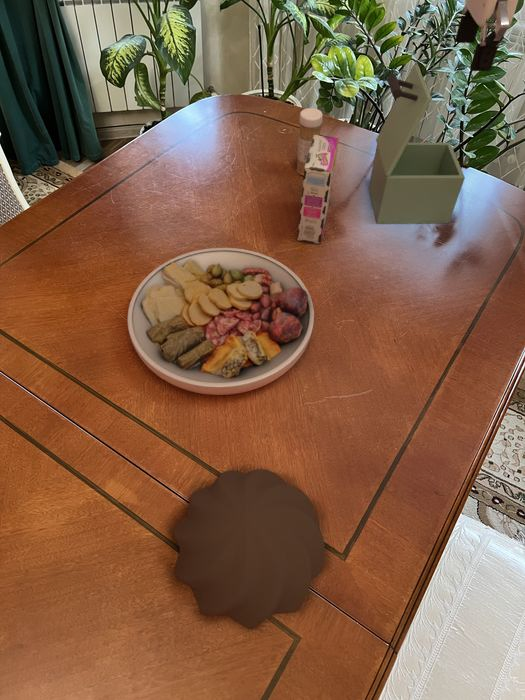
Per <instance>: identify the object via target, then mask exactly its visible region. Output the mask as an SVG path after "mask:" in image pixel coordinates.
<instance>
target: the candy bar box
mask: <svg viewBox="0 0 525 700" xmlns="http://www.w3.org/2000/svg"><path fill="white" fill-rule="evenodd" d="M339 140H340V138H339V137H336V136H335V137H334V136H327V135H321V134H320V135H314V136H313V139H312V143H311V146H310V150H309V153H308V156H307V160H306V163H305V168H304V176H303V178H302V190H301V196H300V197H301V198H300V210H299V218H298V227H297V236H296V238H297V239H296V241H297V242H303V243H309V244H315V245H321V244H322V240H323V235H324V231H325V226H326V222H327V218H328V212H329V207H330V199H331V193H332V186H333V180H334V173H335V166H336V161H337V154H338V146H339Z"/></svg>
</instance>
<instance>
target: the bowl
mask: <svg viewBox="0 0 525 700" xmlns="http://www.w3.org/2000/svg"><path fill="white" fill-rule="evenodd" d="M314 322H315V310H314V303H313V301H312V297H311V294H310V292H309V290H308V288H307V287H306V285H305V284H304V282H303V280H302V279H301V278H300V277H299V276H298V275H297V274H296V273H295V272H294V271H293V270H291V269H290V268H289V267H288V266H286V265H285V264H283V263H281V261H278V260H277V259H275V258H273V257H271V256H268V255H266V254H263V253H260V252H257V251H253V250H249V249H243V248H235V247H210V248H202V249H198V250H193V251H189V252H186V253H183V254H180V255H178V256H176V257H173V258H171V259H169V260H168V261H165V262H164V263H162V264H160V265H159V266H158V267H156V268H155V269H154V270H152V271H151V272H150V273H149V274H148V275H147V276H146V277H145V278H144V279H143V280H142V281H141V282H140V284H139V285H138V286H137V288H136V289H135V291H134V293H133V295H132V296H131V300H130V302H129V305H128V310H127V329H128V333H129V337H130V340H131V344H132V346H133V348H134V350H135V352H136V354H137V355H138V357H139V358H140V359H141V361H142V362H143V363H144V365H145V366H146V367H147V368H148V369H149V370H150V371H151V372H152V373H154V374H155V375H156V376H157V377H159V378H160V379H162V380H164V381H165V382H167V383H169V384H171V385H173V386H175V387H176V388H180V389H182V390H185V391H188V392H192V393H197V394H202V395H212V396H226V395H236V394H241V393H246V392H250V391H253V390H256V389H259V388H261V387H265V386H266V385H269V384H270V383H272V382H273V381H275V380H277V379H279V378H280V377H282V376H283V375H285V373H287V372H288V371H289V370H290V369H292V368H293V366H294V365H295V364H296V363H297V362H298V361H299V359H300V358H301V357H302V356H303V354H304V353H305V350H306V349H307V348H308V345H309V343H310V340H311V337H312V334H313V328H314Z"/></svg>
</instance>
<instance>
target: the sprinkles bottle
mask: <svg viewBox="0 0 525 700" xmlns="http://www.w3.org/2000/svg"><path fill="white" fill-rule="evenodd" d="M323 116H324V115H323V112H322V111H321V110H320V109H318V108H313V107H307V108H303V109H302V110H301V111H300V112H299V134H298V144H297V145H298V146H297V156H296V157H297V161H296V173H297V174H298V175H300V176H302V177H304V168H305V163H306V160H307V156H308V153H309V150H310V146H311V143H312V139H313V136H314V135H321V130H322V129H321V127H322V124H323Z"/></svg>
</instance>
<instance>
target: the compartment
mask: <svg viewBox="0 0 525 700" xmlns="http://www.w3.org/2000/svg"><path fill="white" fill-rule="evenodd" d="M458 160H459V159H458V157H457V155H456V153H455V151H454V148H453V146H452V144H451V142H408V144H407V145H406V147H405V149H404V151H403V153H402V154H401V156H400V158H399V160H398V162H397V163H396V165H395V167H394V169H393V171H392V173H391V174H390V176H387V175H386V174H385V171H384V167H383V163H382V160H381V156H380V153H379V149H378V145H377V144H376V148H375V152H374V156H373V161H372V166H371V167H372V168H371V172H370V178H369V182H368V186H367V187H368V194H369V198H370V202H371V206H372V211H373V215H374V218H375V223H376V225H411V224H412V225H418V224H419V225H425V224H428V225H429V224H430V225H431V224H432V225H433V224H437V223H438V224H439V223H441V225H444V224H445V225H446V224H450V222H451V219H452V215H453V214H454V210H455V207H456V205H457V201H458V199H459V196H460V193H461V190H462V187H463V184H464V181H465V179H466V177H465V175H464V172H463V170H462V168H461V165H460V162H459V161H458Z"/></svg>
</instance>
